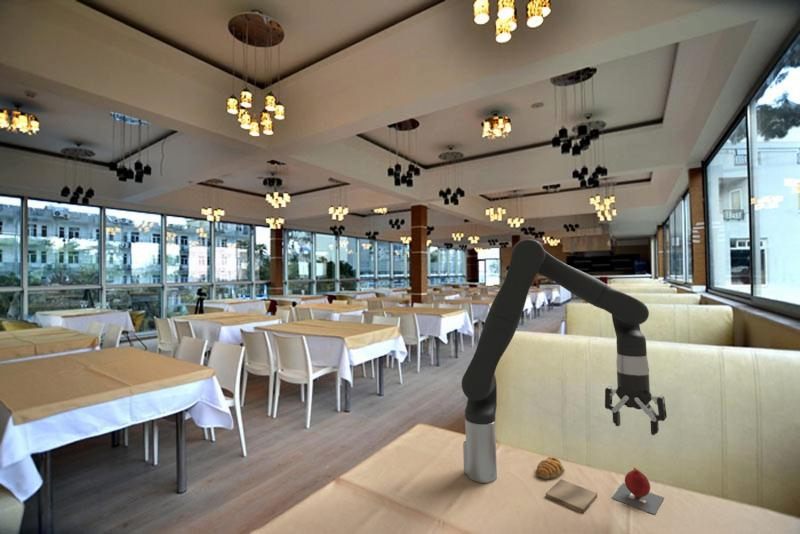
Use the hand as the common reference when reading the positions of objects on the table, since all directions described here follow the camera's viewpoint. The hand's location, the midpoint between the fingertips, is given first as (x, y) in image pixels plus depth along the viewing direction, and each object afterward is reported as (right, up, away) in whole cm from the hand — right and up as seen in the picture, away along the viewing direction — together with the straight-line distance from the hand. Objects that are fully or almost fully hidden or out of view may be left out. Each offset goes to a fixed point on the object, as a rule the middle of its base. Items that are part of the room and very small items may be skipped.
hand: (635, 429), depth 101 cm
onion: (0, -19, -1) cm, 19 cm away
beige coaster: (-17, -19, +1) cm, 26 cm away
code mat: (0, -19, -1) cm, 19 cm away
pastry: (-18, -20, +13) cm, 30 cm away
